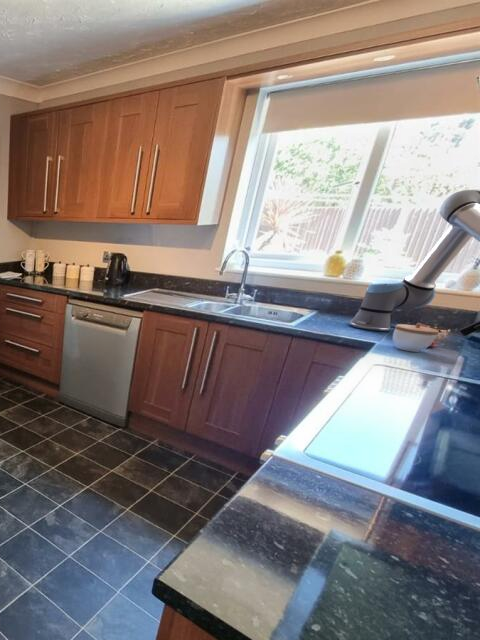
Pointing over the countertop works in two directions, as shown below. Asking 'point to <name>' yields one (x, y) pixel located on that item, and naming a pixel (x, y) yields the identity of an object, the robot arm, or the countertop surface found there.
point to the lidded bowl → (413, 337)
